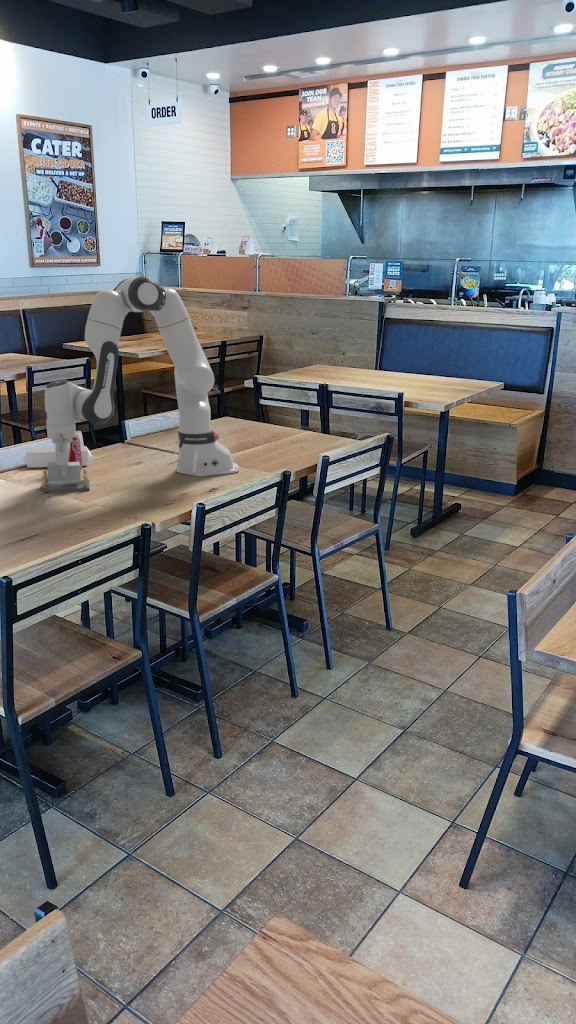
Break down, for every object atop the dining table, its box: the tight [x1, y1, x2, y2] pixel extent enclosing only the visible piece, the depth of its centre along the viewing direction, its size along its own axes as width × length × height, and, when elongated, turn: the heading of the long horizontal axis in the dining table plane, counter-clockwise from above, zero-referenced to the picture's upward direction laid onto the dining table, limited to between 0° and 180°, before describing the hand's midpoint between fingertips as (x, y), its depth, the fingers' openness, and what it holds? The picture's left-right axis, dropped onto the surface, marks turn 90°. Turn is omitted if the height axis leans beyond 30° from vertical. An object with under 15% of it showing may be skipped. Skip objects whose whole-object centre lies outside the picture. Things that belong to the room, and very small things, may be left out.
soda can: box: [69, 433, 83, 472], centre depth 273 cm, size 7×7×13 cm
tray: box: [40, 468, 90, 493], centre depth 255 cm, size 15×10×5 cm, turn 104°
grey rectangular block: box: [46, 462, 82, 482], centre depth 254 cm, size 10×4×5 cm, turn 103°
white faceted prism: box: [23, 445, 93, 469], centre depth 282 cm, size 7×7×24 cm
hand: (64, 473), depth 255 cm, fingers closed on grey rectangular block, 4 cm apart
